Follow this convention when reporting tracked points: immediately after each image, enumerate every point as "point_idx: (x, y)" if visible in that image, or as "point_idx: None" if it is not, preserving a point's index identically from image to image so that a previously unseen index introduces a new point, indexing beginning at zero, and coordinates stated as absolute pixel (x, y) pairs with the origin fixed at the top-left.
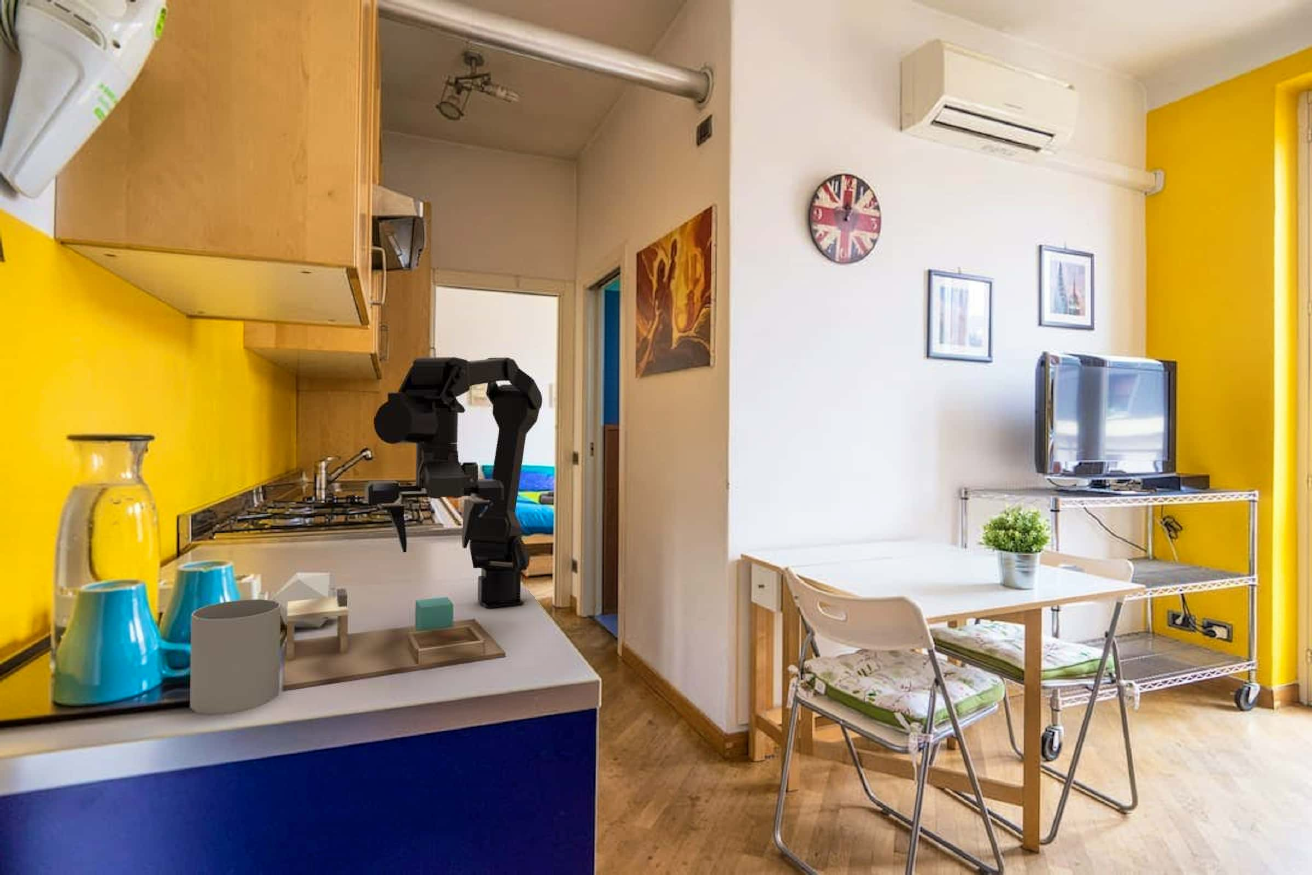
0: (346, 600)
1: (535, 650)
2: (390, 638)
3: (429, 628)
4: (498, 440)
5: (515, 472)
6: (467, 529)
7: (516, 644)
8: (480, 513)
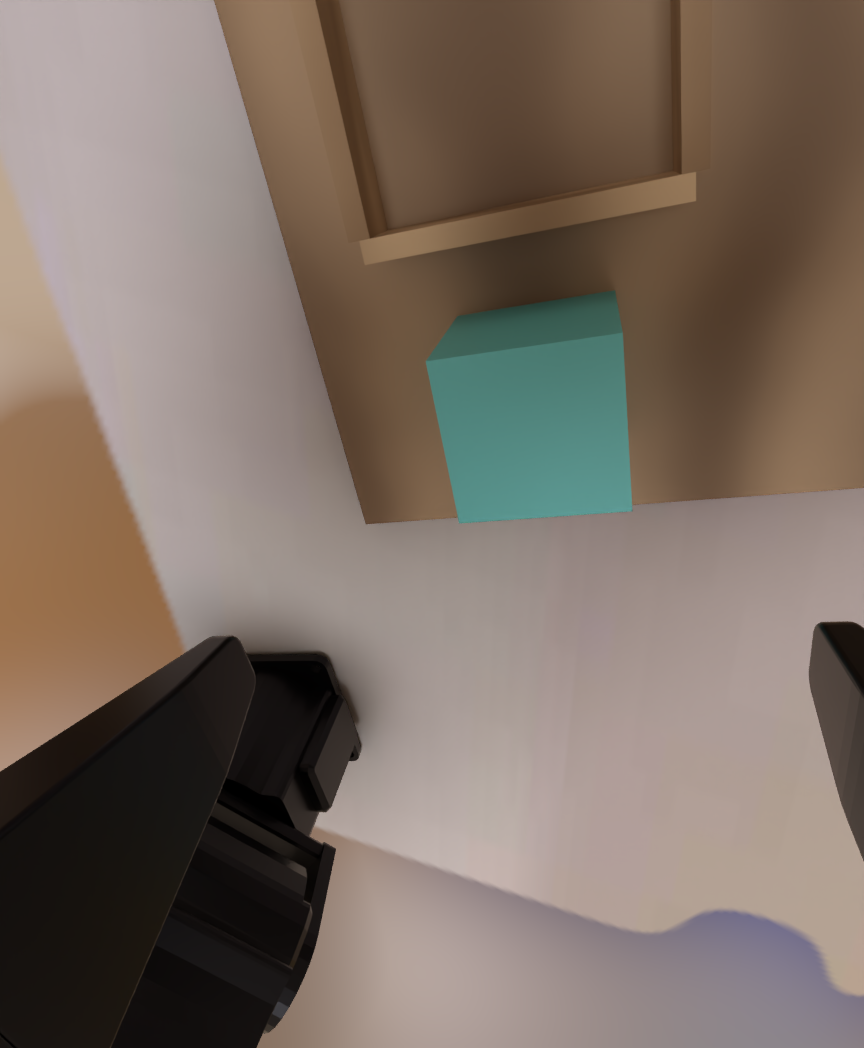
0: None
1: (70, 4)
2: (756, 350)
3: (568, 308)
4: None
5: None
6: (80, 754)
7: (172, 141)
8: None
